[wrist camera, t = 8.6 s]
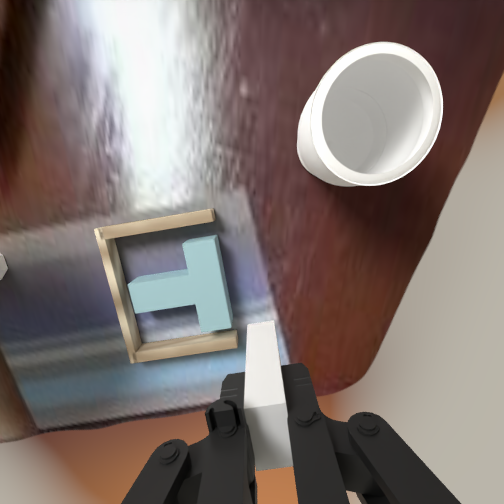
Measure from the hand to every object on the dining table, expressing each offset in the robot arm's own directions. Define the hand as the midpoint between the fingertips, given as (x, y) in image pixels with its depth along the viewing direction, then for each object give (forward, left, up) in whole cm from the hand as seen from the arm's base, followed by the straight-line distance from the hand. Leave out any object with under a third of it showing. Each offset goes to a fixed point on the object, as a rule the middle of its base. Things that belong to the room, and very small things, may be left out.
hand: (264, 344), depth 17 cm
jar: (-13, +11, -25) cm, 30 cm away
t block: (+2, -11, -24) cm, 27 cm away
